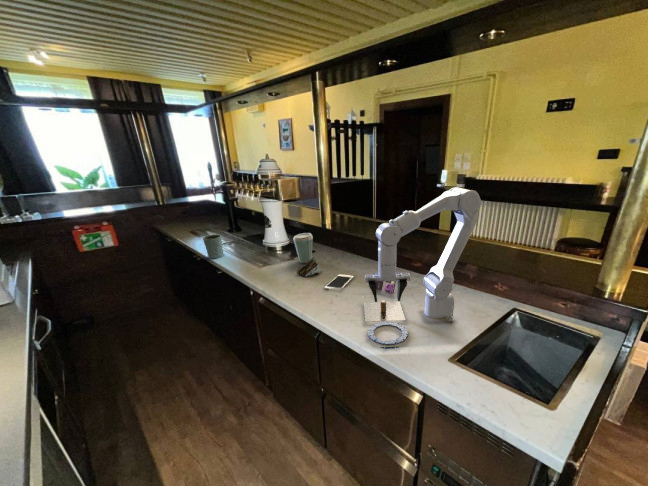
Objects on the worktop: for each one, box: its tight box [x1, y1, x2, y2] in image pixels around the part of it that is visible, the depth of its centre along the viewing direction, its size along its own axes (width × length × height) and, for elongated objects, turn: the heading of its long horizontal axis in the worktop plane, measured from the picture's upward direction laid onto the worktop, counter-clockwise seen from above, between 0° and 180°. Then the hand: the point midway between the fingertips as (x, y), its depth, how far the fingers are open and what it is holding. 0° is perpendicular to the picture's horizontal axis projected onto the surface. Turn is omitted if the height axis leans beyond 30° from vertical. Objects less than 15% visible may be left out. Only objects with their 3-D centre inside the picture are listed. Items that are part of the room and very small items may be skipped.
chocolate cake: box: [295, 256, 322, 278], centre depth 150 cm, size 10×7×12 cm
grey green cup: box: [202, 234, 224, 259], centre depth 180 cm, size 10×10×12 cm
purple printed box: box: [376, 280, 397, 295], centre depth 126 cm, size 7×5×9 cm
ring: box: [367, 321, 409, 350], centre depth 97 cm, size 13×13×2 cm
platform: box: [363, 299, 406, 323], centre depth 110 cm, size 14×14×6 cm
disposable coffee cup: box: [293, 232, 314, 264], centre depth 164 cm, size 11×11×15 cm
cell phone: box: [324, 273, 355, 290], centre depth 138 cm, size 8×16×1 cm, turn 158°
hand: (387, 300), depth 101 cm, fingers open, 7 cm apart
